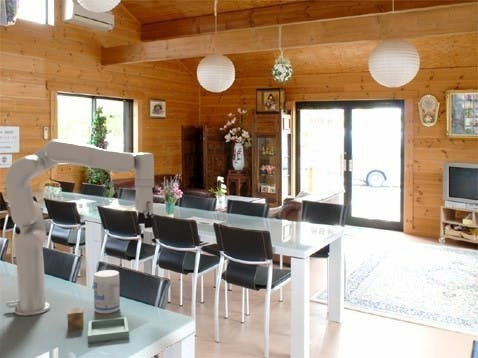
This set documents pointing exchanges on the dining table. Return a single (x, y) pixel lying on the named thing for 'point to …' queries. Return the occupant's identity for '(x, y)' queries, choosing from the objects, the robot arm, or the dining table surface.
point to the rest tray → (108, 330)
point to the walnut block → (75, 318)
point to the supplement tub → (106, 291)
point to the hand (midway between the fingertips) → (145, 225)
